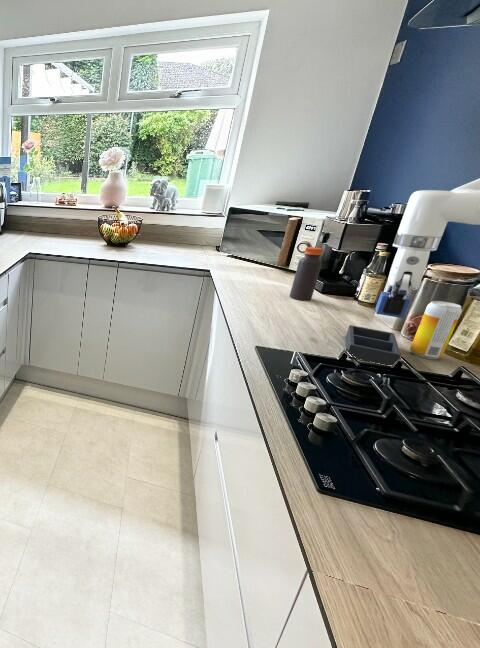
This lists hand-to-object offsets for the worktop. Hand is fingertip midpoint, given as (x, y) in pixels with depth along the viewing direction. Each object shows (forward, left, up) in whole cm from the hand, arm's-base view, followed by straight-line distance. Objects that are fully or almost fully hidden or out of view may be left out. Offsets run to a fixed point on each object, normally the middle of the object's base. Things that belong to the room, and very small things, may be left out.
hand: (390, 309), depth 104 cm
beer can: (-11, -11, -14) cm, 21 cm away
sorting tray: (+1, -5, -14) cm, 15 cm away
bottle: (+19, -51, -14) cm, 56 cm away
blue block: (0, 0, -1) cm, 1 cm away
